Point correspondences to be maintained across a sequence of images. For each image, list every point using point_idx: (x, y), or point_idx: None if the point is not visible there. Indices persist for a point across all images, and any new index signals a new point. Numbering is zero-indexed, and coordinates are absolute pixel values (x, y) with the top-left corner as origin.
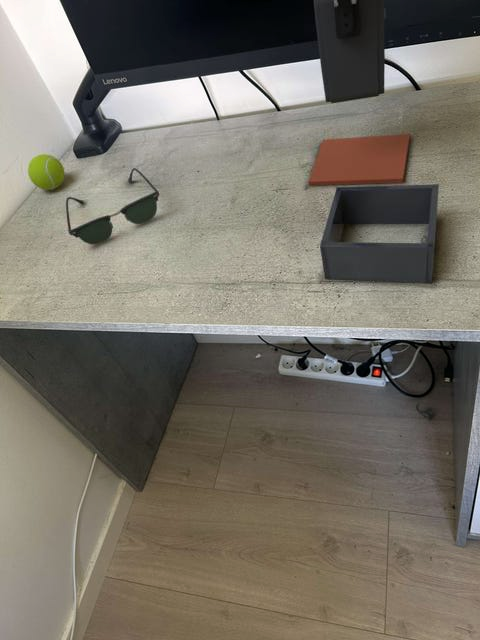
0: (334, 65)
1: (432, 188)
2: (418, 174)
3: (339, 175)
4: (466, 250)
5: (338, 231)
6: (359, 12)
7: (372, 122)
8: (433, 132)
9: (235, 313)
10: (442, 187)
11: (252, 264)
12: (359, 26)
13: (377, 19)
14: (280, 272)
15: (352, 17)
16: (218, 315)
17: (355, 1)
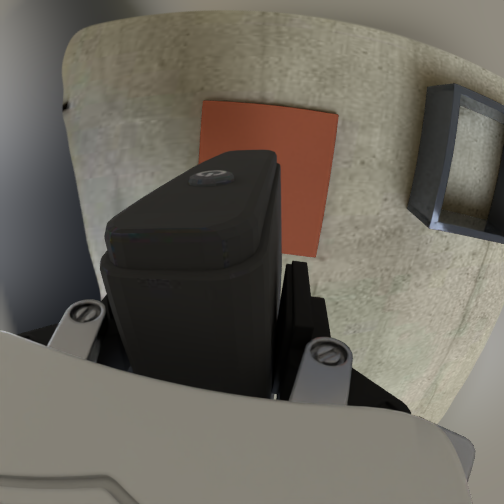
0: (279, 294)
1: (461, 94)
2: (317, 90)
3: (309, 212)
4: (475, 71)
5: (455, 216)
6: (308, 301)
7: (144, 164)
8: (194, 65)
9: (495, 305)
10: (357, 63)
11: (446, 304)
12: (306, 276)
13: (272, 207)
14: (467, 273)
15: (327, 322)
16: (491, 319)
17: (349, 351)
